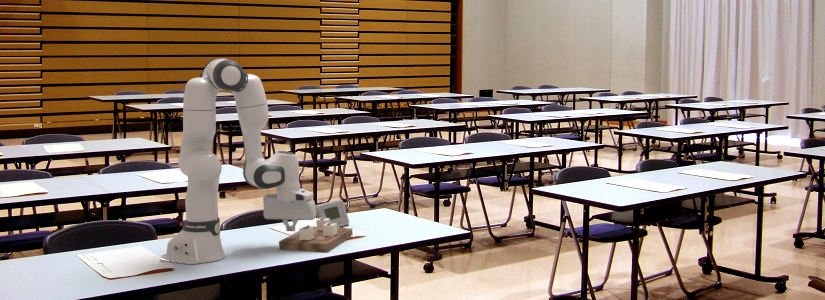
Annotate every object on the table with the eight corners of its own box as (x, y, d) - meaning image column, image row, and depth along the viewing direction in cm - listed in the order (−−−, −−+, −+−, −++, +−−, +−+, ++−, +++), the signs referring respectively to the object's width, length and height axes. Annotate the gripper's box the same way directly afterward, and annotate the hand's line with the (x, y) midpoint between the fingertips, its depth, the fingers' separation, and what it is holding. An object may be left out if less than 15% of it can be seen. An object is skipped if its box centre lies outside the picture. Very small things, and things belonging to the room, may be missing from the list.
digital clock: (322, 232, 336) (321, 206, 335) (309, 229, 343) (308, 203, 341) (354, 226, 347) (353, 200, 345) (341, 223, 353) (340, 198, 352)
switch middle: (323, 235, 316) (323, 223, 316) (327, 233, 320) (327, 221, 320) (333, 236, 315) (332, 224, 315) (337, 233, 319) (336, 221, 318)
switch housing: (279, 249, 310) (278, 241, 310) (307, 233, 335) (307, 225, 334) (327, 252, 305) (327, 243, 304) (352, 235, 329) (352, 227, 329)
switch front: (299, 239, 310) (299, 227, 310) (304, 237, 314) (303, 225, 314) (309, 240, 309) (309, 228, 309) (314, 237, 313) (313, 225, 313)
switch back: (316, 230, 326) (316, 218, 325) (320, 228, 329) (320, 216, 329) (326, 230, 325) (326, 219, 324) (330, 228, 328) (329, 216, 328)
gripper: (259, 195, 312) (261, 232, 314) (310, 196, 306) (312, 233, 308) (266, 192, 318) (269, 228, 320) (317, 193, 312) (319, 229, 314)
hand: (290, 230), depth 314 cm, fingers closed
